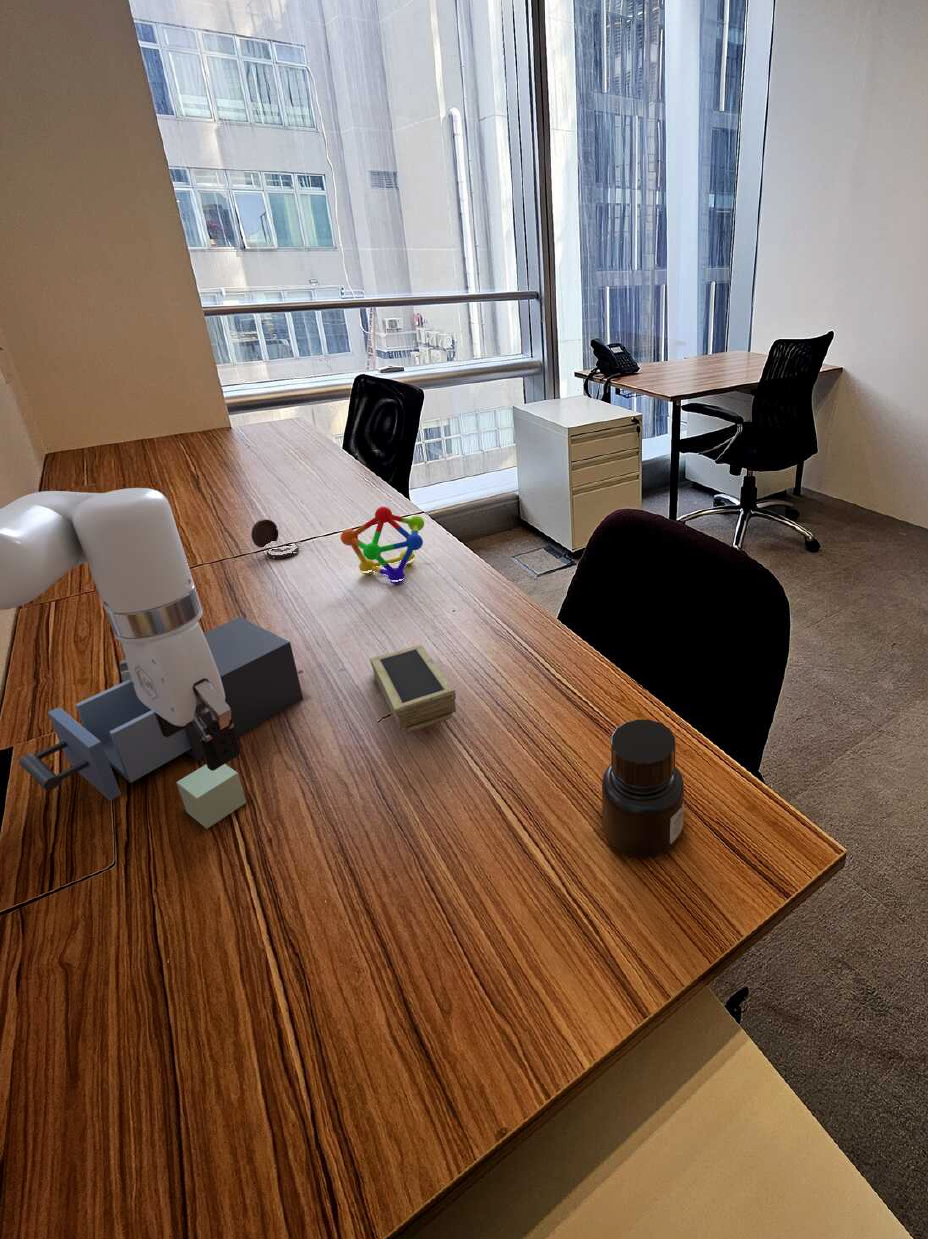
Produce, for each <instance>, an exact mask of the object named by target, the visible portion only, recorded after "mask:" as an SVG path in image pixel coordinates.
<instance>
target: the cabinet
mask: <svg viewBox="0 0 928 1239" xmlns="http://www.w3.org/2000/svg"><path fill="white" fill-rule="evenodd" d="M203 634H204V636H205V638H206V641H207V643H208V646H209V648H210V651H211V653H212V656H213V658H214V661H215V664H216V667H217V669H218V672H219V675H220V678H221V681H222V685H223V689H224V693H225V702H226V703H227V704H228V706H229V707H230V709H231V716H232V717H231V718H233V720H232V721H233V724H234V727H233V729H234V732H235V735H236V738H239V737H241V736H242V735H244V734H245V733H248V732H249V731H251V730H253V729H254V728H256V727H258V726H259V725H261V724H262V723H264V722H266V721H268V720H269V719H271V718H273V717H274V716H276V715H278V714H280V713H282V712H283V711H285V710H286V709H288V708H290V707H291V706H293V705H295V704H297V703H299V702H300V701H302V700H303V699H304V696H303V691H302V687H301V682H300V678H299V675H298V670H297V666H296V665H297V664H296V660H295V656H294V653H293V648H292V643H291V641H289V640H288V639H285V638H283V637H282V636H279V635H277V634H276V633H273V632H272V631H270V630H268V629H265V628H263V627H261V626H260V625H257V624H255V623H254V622H251V621H249V620H247V619H245V618H243V617H242V616H239V617H236V618H235V619H231V620H229V621H227V622H226V623H223V624H221V625H218V626H216V627H213V628H212V629H209V630H207V631H205V632H203ZM203 708H205V705H204V704H203V703H201V704H199V705H198V706H196V710H195V712H197V711H199V710H201V709H203ZM201 719H202V721H203V723H204V724H205V726H206V727H208V725H209V724H210V722H212V721H213V719H212V715H211V713H208V714H206V715H204V716H203V717H201ZM185 730H186V733H187V736H188V739H189V743H190V746H191V749H189V750H188V751H186V752H185V753H187V754H188V755H189V756H191V757H192V758H194V759H195V760H196V761H199V760H201V759H203V758H204V755H203V752H202V749H201V747H200V744H199V741H198V740H200V739H202V737H201V736H200V734H199V732H198V731H197V729H196V728H195V726H194V725H193V724H191V725H189V726H188V727H186V728H185Z"/></svg>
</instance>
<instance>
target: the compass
mask: <svg viewBox="0 0 928 1239" xmlns="http://www.w3.org/2000/svg"><path fill="white" fill-rule="evenodd" d="M278 539H279V529H278V526H277V524H276V523H275V522H274V521H273V520H271V519H259V520H258V521H256V522H255V523H254V525H253V526H252V528H251V540H252V542H253V544H254V545H255V546H256V547H257V548H260V547H261V548H260V549H263V548H262V547H264V546H265V545H266V544H268V543H270V542H271V541H276V542H278ZM291 543H292V544H293V542H291ZM300 544H302V542H301V541H299V542H298V543H297V542H296V543H295V545H296V546H298V545H300ZM283 546H292V545H283ZM290 549H291V548H286V549H284V550H281V549H279V548H278V549H272V550H271V551H274V552H283V551H287V550H290ZM268 551H269V549H268V550H267V551H266V557H268V558H269V557H270V558H269V559H272V560H282V559H287V558H290V557H293V556H296V554H297V553H298V552H300V547H299V546H298V548H296V549H295V550H294V551H292V553H287V554H283V555H271V554H269V553H268ZM293 552H297V553H293ZM273 557H274V558H273Z"/></svg>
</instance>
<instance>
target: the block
mask: <svg viewBox="0 0 928 1239" xmlns="http://www.w3.org/2000/svg"><path fill="white" fill-rule="evenodd" d="M176 785H177V788H178V791H179V794H180V797H181V800H182V803H183V806H184V810H185V812H186V813H187V814H188V815H189V816H191V817H192V818H193V820H195V821H196V822H198V823H199V824H200V825H201V826H203V828H205V829H206V830H208V829H209V828H211V827H212V826H214V825H215V824H217V823H218V822H220V821H221V820H223V819H224V818H226V817H227V816H229V815H230V814H232V813H233V812H234V811H236V810H238V809H239V808H240V807H242V806H243V805H246V803H247V800H246V797H245V794H244V789H243V787H242V784H241V780H240V776H239V773H238V772H237V771H236V770H234V769H233V768H232V767H230V766H228V765H227V763H225V764H224V765H222V766H221V767H219V768H217V769H216V770H214V771H211V770H210V769H208V767H207V764H206V763H205V764H204V765H203V766H201V767H199V768H197V769H196V770H194V771H192V772H191V773H188V774H187V775H186V776H185V777H183V778H181V779H179V780H178V781H177V780H176Z"/></svg>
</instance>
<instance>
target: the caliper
mask: <svg viewBox="0 0 928 1239" xmlns="http://www.w3.org/2000/svg"><path fill="white" fill-rule="evenodd" d="M118 665H119V668H120V676H121V680H122V683H123V682H125V681H127V680H129V679H131V676H130V672H129V669H128V666H127V662H126V659H123V660H120V663H118Z"/></svg>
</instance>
